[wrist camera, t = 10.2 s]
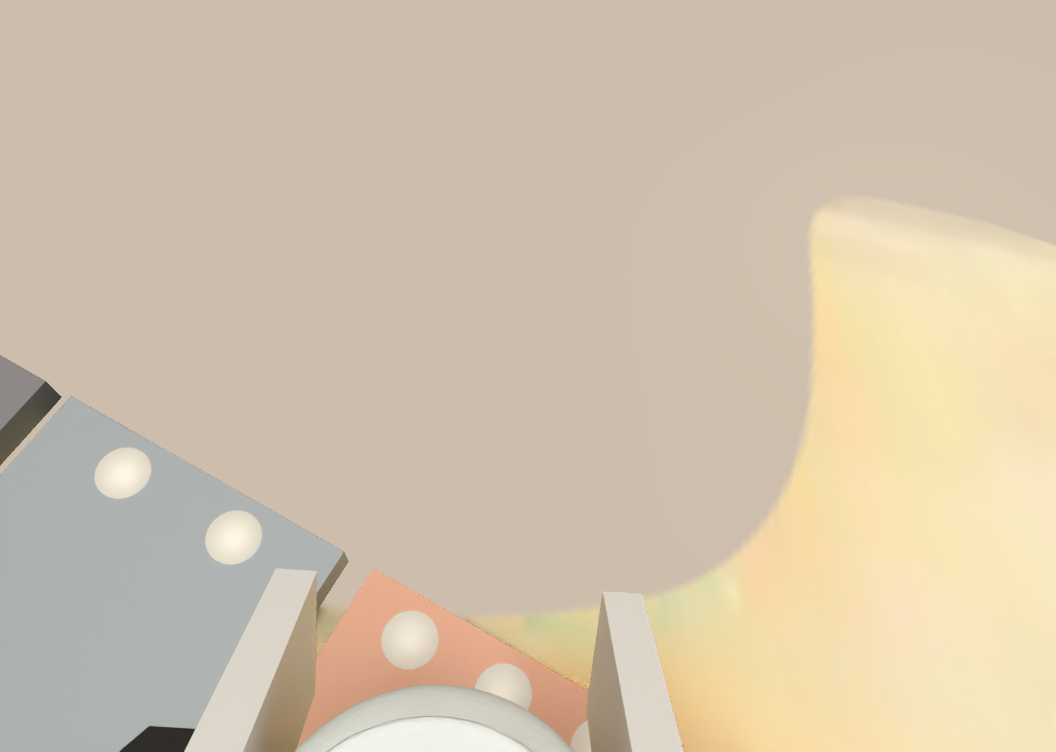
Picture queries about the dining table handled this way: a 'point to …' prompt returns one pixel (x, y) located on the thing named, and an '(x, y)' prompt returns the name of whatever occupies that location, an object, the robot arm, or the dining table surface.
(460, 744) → the supplement bottle
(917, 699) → the dining table surface
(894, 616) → the dining table surface
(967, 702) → the dining table surface
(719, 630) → the dining table surface
